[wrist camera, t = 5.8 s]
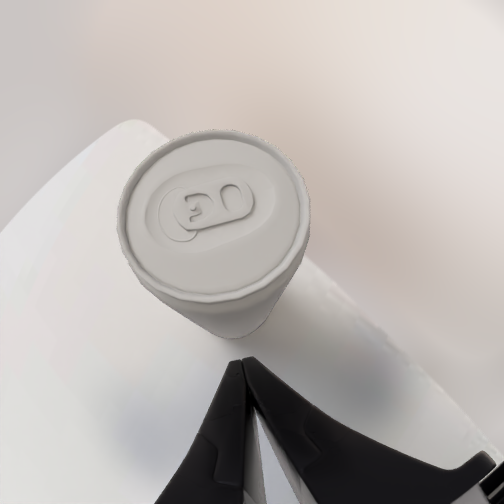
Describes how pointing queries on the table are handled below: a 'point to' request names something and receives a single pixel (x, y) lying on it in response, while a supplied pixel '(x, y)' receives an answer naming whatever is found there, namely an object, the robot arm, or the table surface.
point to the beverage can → (216, 227)
